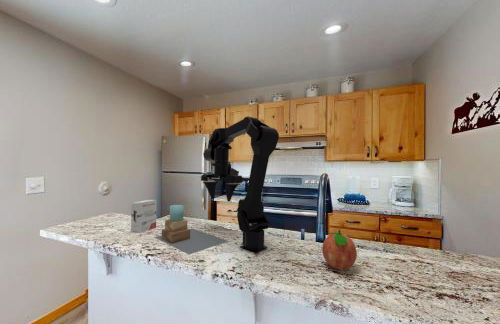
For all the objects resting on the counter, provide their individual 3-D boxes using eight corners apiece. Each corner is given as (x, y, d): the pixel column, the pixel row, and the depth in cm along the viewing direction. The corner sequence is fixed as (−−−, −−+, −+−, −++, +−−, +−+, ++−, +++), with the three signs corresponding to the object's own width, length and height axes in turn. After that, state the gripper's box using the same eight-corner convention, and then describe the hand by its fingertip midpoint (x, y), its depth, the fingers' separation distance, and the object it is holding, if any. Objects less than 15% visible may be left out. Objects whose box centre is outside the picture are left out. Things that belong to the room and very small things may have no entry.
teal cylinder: (185, 220, 78) (186, 206, 78) (173, 222, 74) (174, 207, 74) (178, 217, 81) (179, 204, 81) (167, 219, 77) (167, 205, 77)
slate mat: (228, 242, 76) (228, 241, 76) (188, 255, 64) (189, 254, 64) (192, 229, 90) (192, 228, 90) (154, 238, 78) (154, 237, 78)
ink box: (147, 227, 92) (148, 199, 92) (156, 228, 90) (157, 199, 91) (129, 232, 84) (130, 201, 84) (139, 234, 82) (140, 203, 83)
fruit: (353, 262, 62) (353, 227, 62) (360, 278, 53) (360, 237, 53) (321, 258, 64) (322, 224, 65) (322, 272, 55) (323, 233, 56)
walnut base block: (190, 238, 78) (190, 229, 78) (171, 243, 72) (172, 233, 72) (179, 234, 82) (179, 225, 82) (161, 238, 77) (161, 229, 77)
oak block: (187, 229, 78) (187, 220, 78) (172, 232, 73) (173, 222, 73) (178, 226, 81) (179, 217, 81) (164, 229, 77) (165, 219, 77)
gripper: (252, 161, 88) (251, 200, 87) (220, 161, 99) (219, 196, 99) (233, 160, 79) (232, 203, 79) (200, 160, 91) (199, 198, 90)
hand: (220, 200), depth 87 cm, fingers open, 9 cm apart
